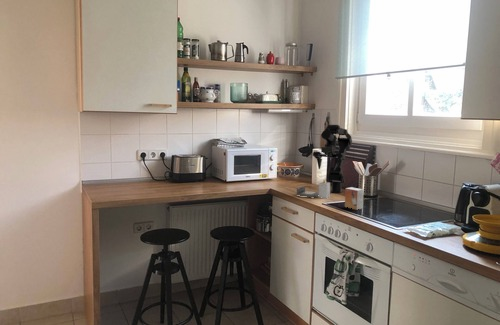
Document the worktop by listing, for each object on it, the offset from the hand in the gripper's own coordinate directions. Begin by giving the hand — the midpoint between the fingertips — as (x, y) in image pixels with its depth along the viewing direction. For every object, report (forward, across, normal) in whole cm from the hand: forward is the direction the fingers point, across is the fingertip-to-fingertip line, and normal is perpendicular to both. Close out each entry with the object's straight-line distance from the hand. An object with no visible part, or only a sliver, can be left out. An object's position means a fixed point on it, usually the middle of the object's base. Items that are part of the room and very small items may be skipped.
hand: (326, 169), depth 246 cm
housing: (+16, 0, +5) cm, 17 cm away
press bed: (+17, -10, +4) cm, 20 cm away
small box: (+22, +23, -10) cm, 33 cm away
